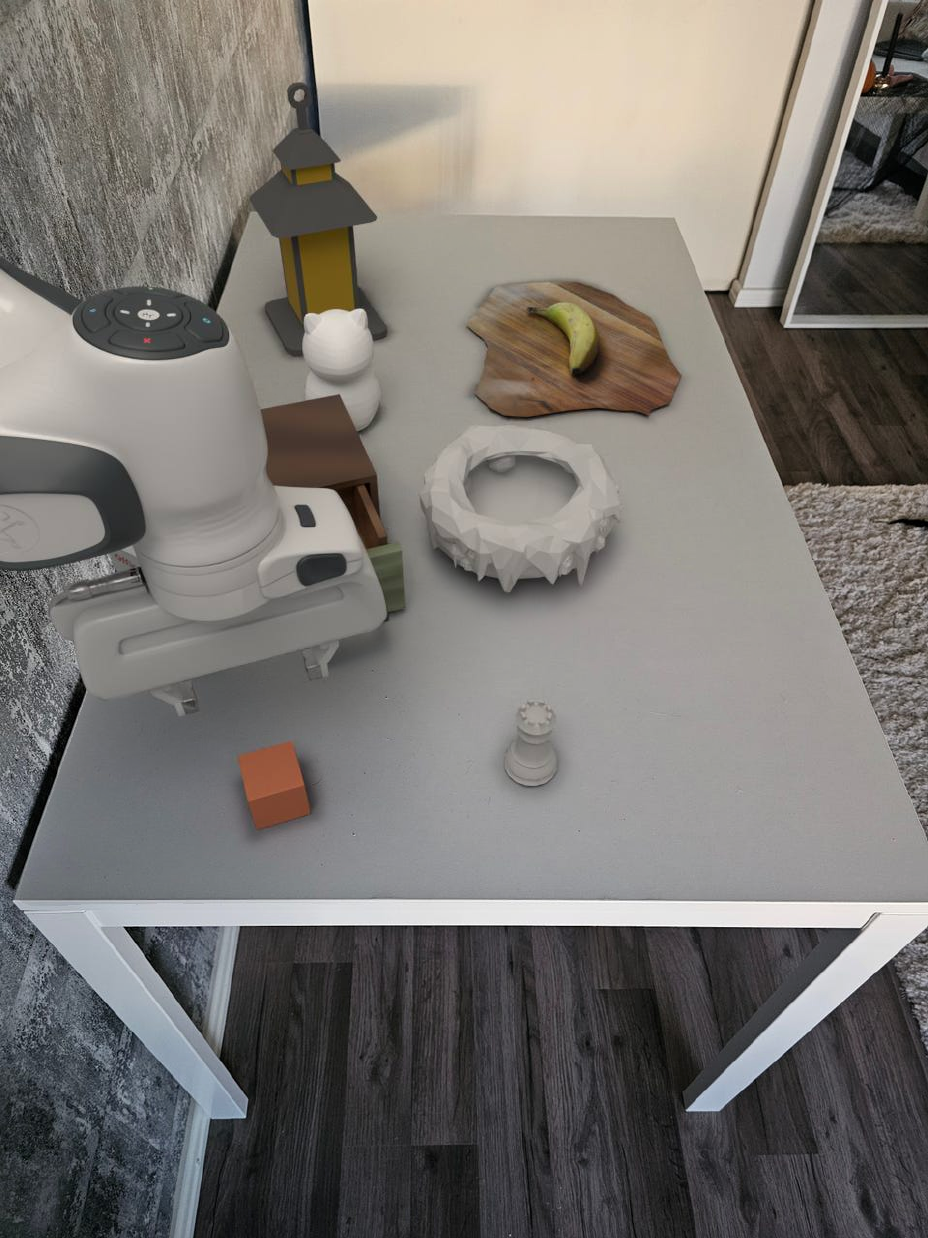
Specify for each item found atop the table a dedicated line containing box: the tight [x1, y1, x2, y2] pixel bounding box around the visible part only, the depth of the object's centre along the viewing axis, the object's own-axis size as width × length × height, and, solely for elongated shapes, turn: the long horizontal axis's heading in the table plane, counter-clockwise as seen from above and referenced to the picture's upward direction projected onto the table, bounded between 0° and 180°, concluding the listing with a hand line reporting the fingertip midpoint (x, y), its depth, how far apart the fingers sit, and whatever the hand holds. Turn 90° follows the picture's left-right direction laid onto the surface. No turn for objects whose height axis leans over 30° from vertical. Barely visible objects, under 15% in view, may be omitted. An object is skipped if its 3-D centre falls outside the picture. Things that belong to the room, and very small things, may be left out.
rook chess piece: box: [504, 698, 557, 787], centre depth 75 cm, size 4×4×8 cm
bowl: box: [418, 424, 625, 593], centre depth 93 cm, size 21×20×10 cm
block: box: [237, 740, 312, 831], centre depth 74 cm, size 4×4×4 cm
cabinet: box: [260, 394, 382, 522], centre depth 96 cm, size 15×14×10 cm
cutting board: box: [466, 281, 682, 418], centre depth 122 cm, size 35×27×4 cm
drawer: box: [334, 484, 406, 623], centre depth 88 cm, size 18×12×8 cm
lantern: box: [248, 81, 388, 357], centre depth 116 cm, size 14×14×30 cm
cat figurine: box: [302, 309, 382, 432], centre depth 107 cm, size 9×12×15 cm
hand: (253, 689), depth 66 cm, fingers open, 8 cm apart
